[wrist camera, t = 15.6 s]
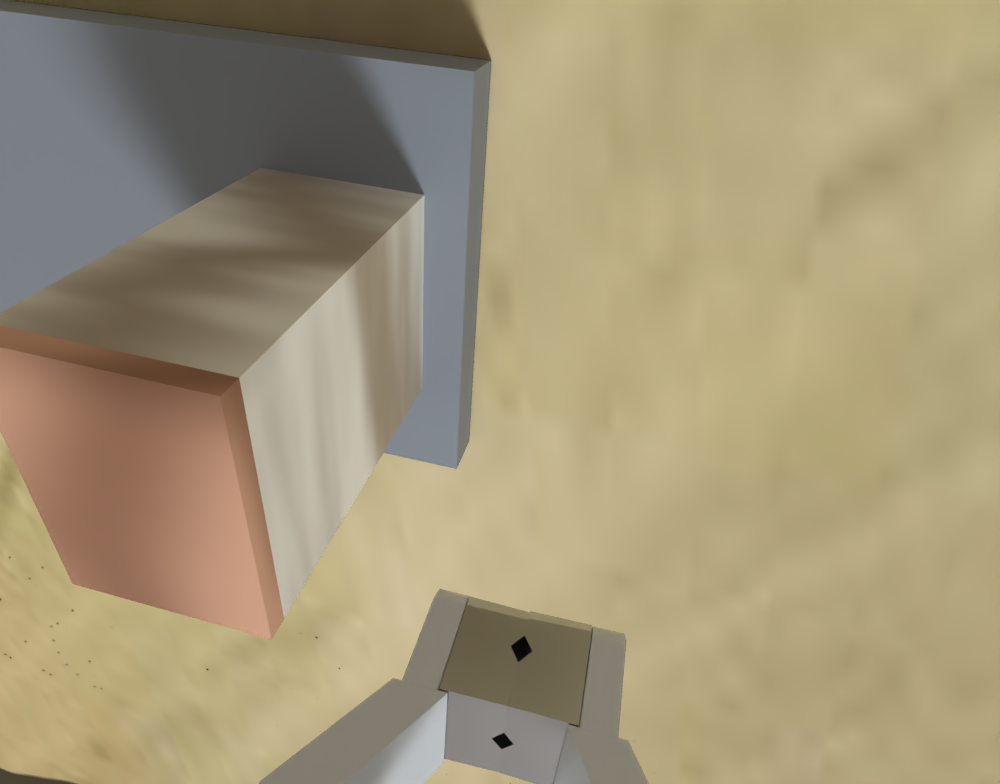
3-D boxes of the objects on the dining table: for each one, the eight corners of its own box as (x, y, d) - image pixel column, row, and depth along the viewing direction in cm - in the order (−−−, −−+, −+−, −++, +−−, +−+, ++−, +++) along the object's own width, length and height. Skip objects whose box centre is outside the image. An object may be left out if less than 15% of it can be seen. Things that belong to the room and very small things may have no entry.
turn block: (424, 194, 17) (220, 396, 10) (422, 387, 20) (271, 639, 13) (260, 167, 17) (-44, 337, 10) (286, 358, 21) (72, 583, 14)
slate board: (44, 349, 26) (13, 369, 24) (-97, -14, 19) (-152, -9, 17) (469, 440, 23) (456, 468, 22) (491, 60, 16) (474, 71, 15)
